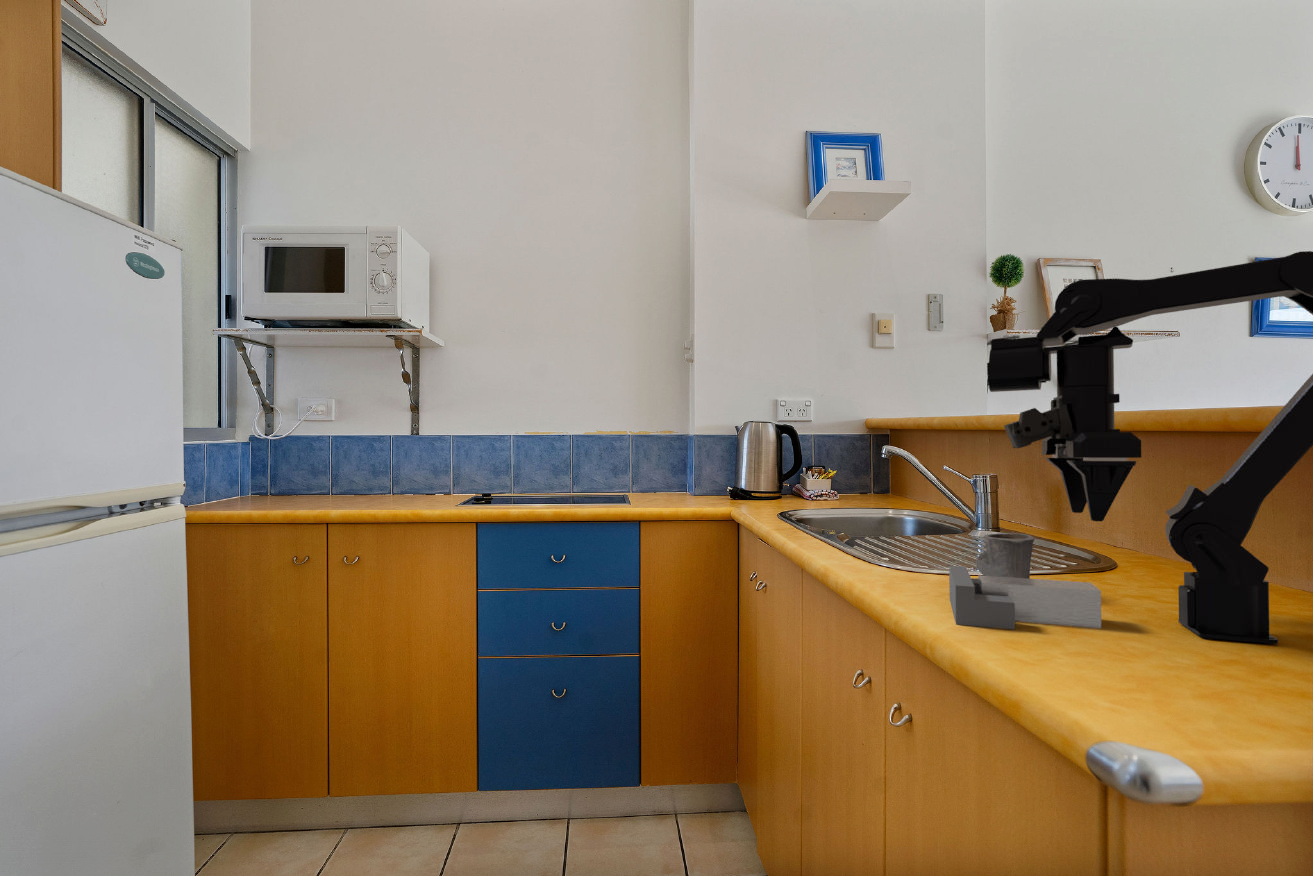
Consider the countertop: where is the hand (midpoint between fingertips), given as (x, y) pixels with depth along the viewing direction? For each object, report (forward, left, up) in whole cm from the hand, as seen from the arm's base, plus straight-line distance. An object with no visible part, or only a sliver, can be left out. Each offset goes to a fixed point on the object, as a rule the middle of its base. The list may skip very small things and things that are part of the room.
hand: (1086, 516), depth 76 cm
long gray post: (+6, +3, -12) cm, 14 cm away
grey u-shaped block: (+12, +3, -12) cm, 17 cm away
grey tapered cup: (+7, -14, -12) cm, 20 cm away
